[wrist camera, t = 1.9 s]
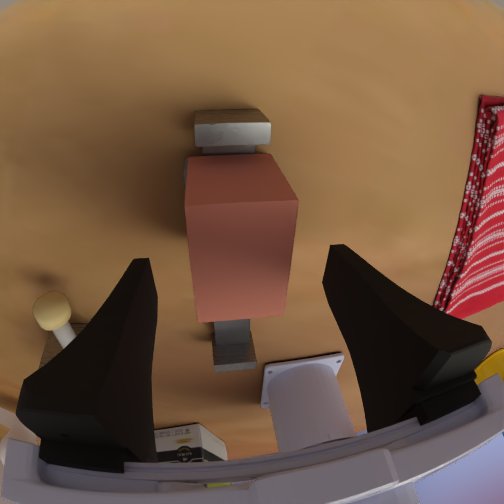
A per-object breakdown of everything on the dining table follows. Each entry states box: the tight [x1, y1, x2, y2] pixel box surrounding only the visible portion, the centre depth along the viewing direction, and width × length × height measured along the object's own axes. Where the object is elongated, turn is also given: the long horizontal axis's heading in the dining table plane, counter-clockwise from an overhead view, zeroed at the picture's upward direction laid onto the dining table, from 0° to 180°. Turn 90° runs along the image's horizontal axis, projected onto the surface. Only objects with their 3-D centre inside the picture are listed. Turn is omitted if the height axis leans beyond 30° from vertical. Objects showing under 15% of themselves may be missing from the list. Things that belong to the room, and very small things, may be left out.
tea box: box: [154, 424, 232, 488], centre depth 33 cm, size 15×10×15 cm, turn 106°
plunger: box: [33, 291, 76, 349], centre depth 18 cm, size 5×3×3 cm, turn 178°
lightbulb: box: [0, 417, 37, 465], centre depth 26 cm, size 6×6×11 cm
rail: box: [194, 109, 271, 372], centre depth 19 cm, size 18×3×3 cm, turn 178°
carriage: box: [183, 154, 299, 323], centre depth 15 cm, size 6×4×6 cm
